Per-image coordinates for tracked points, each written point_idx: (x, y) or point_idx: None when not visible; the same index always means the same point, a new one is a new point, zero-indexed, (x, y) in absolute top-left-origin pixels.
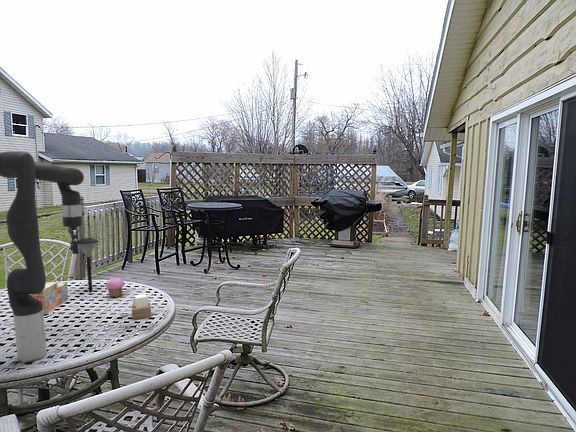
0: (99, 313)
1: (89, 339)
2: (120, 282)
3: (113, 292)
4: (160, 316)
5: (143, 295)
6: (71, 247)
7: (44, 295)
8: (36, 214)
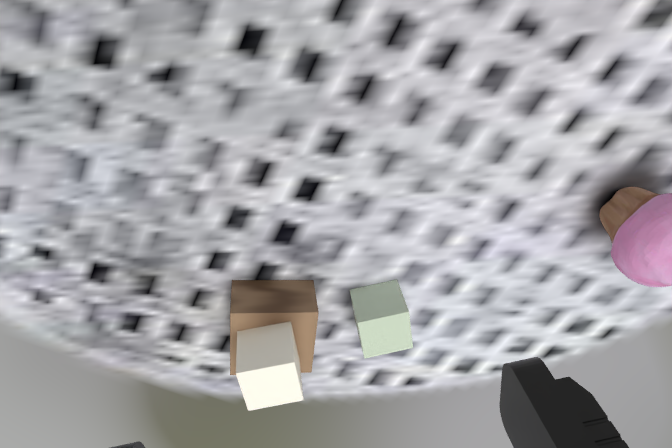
0: (396, 142)
1: (19, 116)
2: (637, 277)
3: (617, 213)
4: None
5: (274, 395)
6: (533, 422)
7: None
8: None
